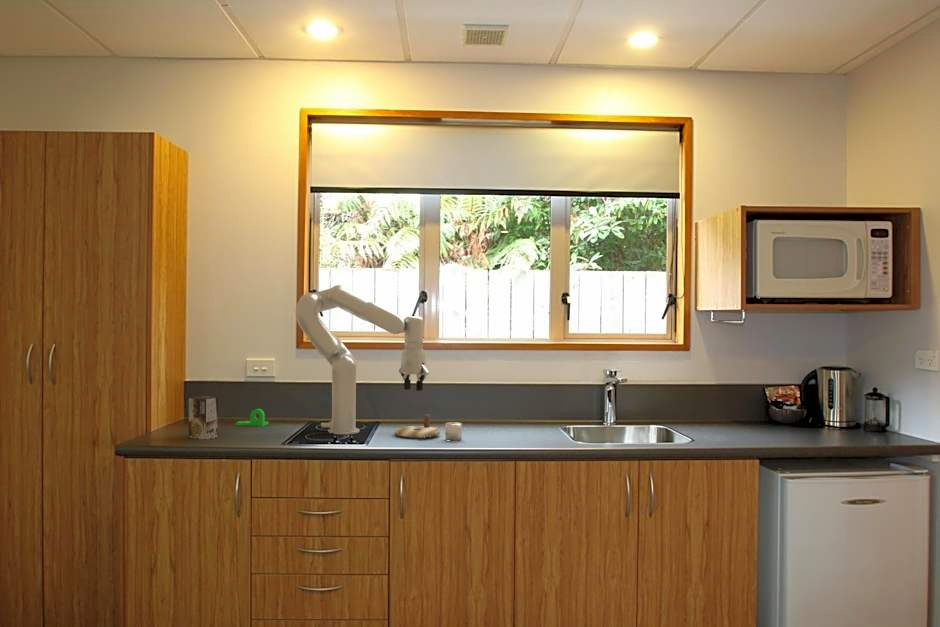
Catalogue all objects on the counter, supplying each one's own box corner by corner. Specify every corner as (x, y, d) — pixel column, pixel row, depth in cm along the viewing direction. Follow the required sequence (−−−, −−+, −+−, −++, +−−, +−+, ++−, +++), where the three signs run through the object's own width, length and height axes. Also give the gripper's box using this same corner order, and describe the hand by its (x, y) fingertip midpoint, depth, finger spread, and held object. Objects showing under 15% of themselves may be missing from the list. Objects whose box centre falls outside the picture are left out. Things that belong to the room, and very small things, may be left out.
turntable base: (401, 438, 278) (401, 436, 278) (402, 433, 290) (402, 431, 290) (432, 438, 279) (432, 436, 279) (432, 433, 291) (432, 431, 291)
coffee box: (218, 438, 275) (218, 397, 275) (205, 441, 269) (206, 398, 269) (200, 437, 279) (201, 395, 279) (187, 439, 273) (188, 397, 273)
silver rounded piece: (445, 441, 273) (445, 424, 273) (445, 438, 279) (445, 421, 280) (462, 441, 274) (462, 424, 274) (461, 438, 280) (461, 421, 280)
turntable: (393, 437, 275) (394, 420, 275) (395, 429, 293) (395, 413, 293) (440, 437, 276) (440, 420, 276) (439, 429, 294) (439, 413, 294)
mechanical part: (268, 426, 308) (268, 407, 308) (262, 428, 302) (262, 409, 302) (242, 425, 310) (242, 406, 310) (235, 427, 304) (235, 408, 304)
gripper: (392, 345, 296) (391, 389, 296) (424, 347, 286) (423, 392, 286) (404, 345, 302) (403, 387, 302) (435, 346, 292) (435, 390, 292)
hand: (413, 389), depth 294 cm, fingers open, 5 cm apart
